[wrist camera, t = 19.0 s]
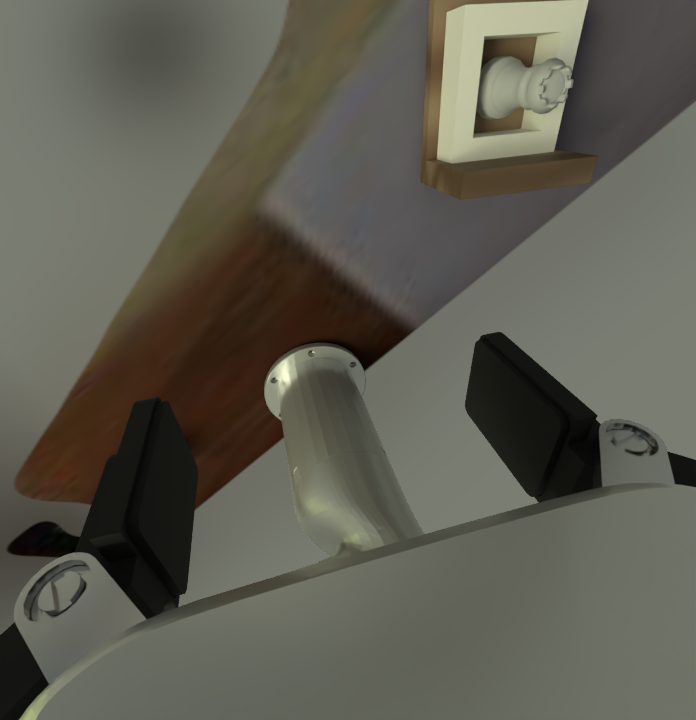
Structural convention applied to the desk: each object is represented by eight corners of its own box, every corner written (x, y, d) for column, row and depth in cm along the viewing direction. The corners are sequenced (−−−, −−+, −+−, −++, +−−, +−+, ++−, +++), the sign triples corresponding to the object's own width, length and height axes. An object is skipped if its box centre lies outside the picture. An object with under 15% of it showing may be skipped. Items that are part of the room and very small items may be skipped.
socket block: (533, 148, 36) (553, 151, 34) (436, 159, 34) (451, 163, 32) (561, 7, 30) (588, -1, 28) (446, 12, 29) (465, 4, 26)
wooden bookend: (530, 168, 38) (590, 182, 32) (420, 182, 36) (460, 199, 30) (576, -62, 29) (673, -107, 23) (432, -60, 27) (493, -109, 21)
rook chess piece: (523, 58, 32) (596, 47, 25) (508, 121, 34) (571, 125, 28) (476, 54, 31) (540, 41, 24) (464, 119, 33) (520, 123, 27)
